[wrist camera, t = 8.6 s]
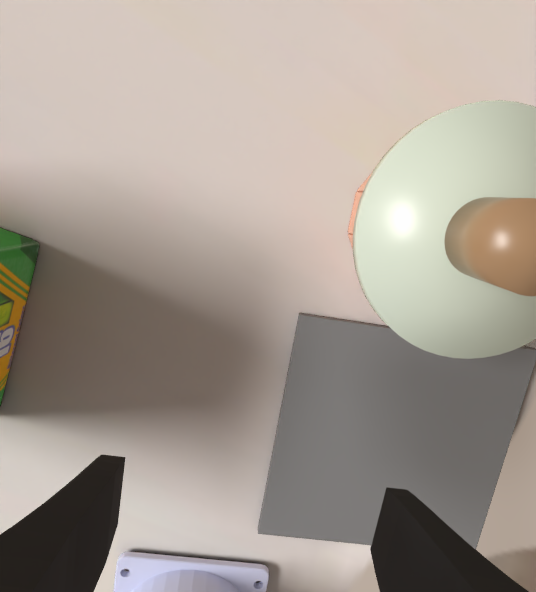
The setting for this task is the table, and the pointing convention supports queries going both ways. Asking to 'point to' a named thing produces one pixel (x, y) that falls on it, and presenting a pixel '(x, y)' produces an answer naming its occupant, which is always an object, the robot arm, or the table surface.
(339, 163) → the table surface
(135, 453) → the table surface
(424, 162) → the lid
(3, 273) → the chalk box
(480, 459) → the mat
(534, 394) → the table surface
